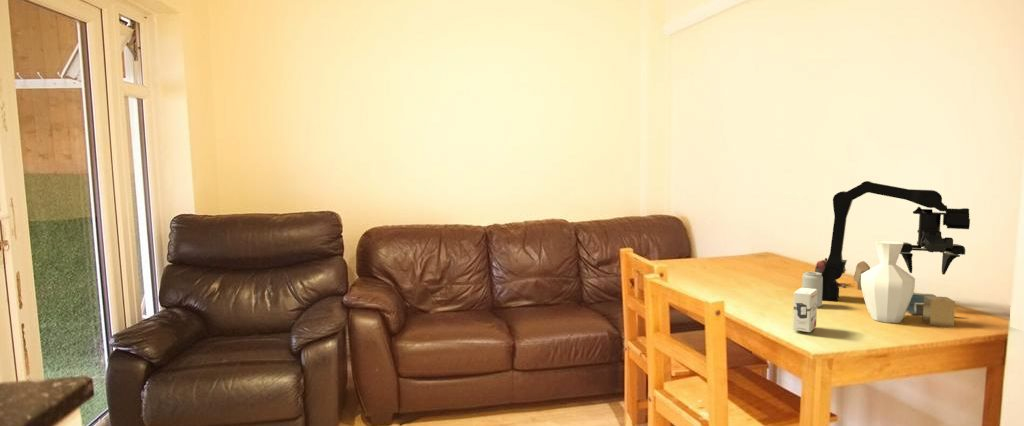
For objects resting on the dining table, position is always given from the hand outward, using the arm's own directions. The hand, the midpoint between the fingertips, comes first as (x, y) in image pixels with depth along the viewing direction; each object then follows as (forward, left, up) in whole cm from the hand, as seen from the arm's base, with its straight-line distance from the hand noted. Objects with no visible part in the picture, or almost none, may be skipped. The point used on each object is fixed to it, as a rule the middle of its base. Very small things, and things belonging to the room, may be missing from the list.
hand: (926, 273), depth 185 cm
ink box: (-42, -34, -13) cm, 55 cm away
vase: (-16, -15, -13) cm, 26 cm away
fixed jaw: (0, -7, -13) cm, 14 cm away
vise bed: (0, 0, -13) cm, 13 cm away
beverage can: (-35, -3, -13) cm, 37 cm away
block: (-2, -16, -13) cm, 21 cm away
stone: (-10, +35, -13) cm, 39 cm away
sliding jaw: (0, +6, -13) cm, 14 cm away
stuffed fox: (-22, +31, -13) cm, 40 cm away
